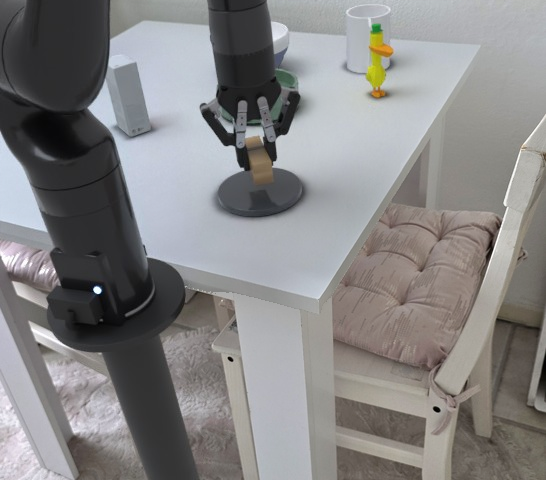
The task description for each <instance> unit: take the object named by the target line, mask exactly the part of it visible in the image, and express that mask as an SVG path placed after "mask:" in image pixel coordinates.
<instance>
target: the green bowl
mask: <svg viewBox="0 0 546 480" xmlns="http://www.w3.org/2000/svg"><path fill="white" fill-rule="evenodd" d="M276 77H277V80H278V82H279V83H280V85H281V86H283V87H287V88H289V87H291V86H293V87H295V88H296V89H297V91H298V92H299V91H300V90H299V79H298V76H297V75H296V74H295V73H294V72H291V71H289V70H286V69H282V68H278V69H277V68H276ZM217 90H218V84H216V89H215V92H217ZM299 93H300V92H299ZM282 104H283V103H282V101H281V95H280V96H279V97H278V99H277V101H276V103H275V105H274V106H273V108H272V110H271V112H270V115H271V119H272V122H273V121H277V118H278V116H279V113H280V110H281V107H282ZM300 104H301V103H300V101H299V104H298V107H299V106H300ZM219 113H220V116H222V117H223V118H224V119H227V120H228V121H230V122H233V117H232V116H231V115H230V114H229V113H228V112H226V111H225V110H224V109H223V108H222V107H221V106H220V107H219ZM246 124H261V121H260V120H251V121H249V122H246Z"/></svg>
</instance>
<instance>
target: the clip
mask: <svg viewBox="0 0 546 480" xmlns="http://www.w3.org/2000/svg"><path fill="white" fill-rule="evenodd" d="M245 144H246V147H247V152H248V159H249V167H250V171H248V172H250V174H251V177H252V179H253V182H254V184H255V186H258V185H263V184H268V183H273V182H274V179H273V170H272V167H273V166H272V162H271V160H270V157H269V155H268V153H267V151H266V149H265V146H264V144H263V140H262V138H261V136H260V135H255V136H250V137H249V136H248V137H245Z"/></svg>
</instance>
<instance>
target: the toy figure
mask: <svg viewBox="0 0 546 480" xmlns="http://www.w3.org/2000/svg"><path fill="white" fill-rule="evenodd" d="M371 26H372V31H370V46H369V48H370V50H371V59H372V65H371V67H369V66H368V73H365V79H366V81H367V82H368V83H369V84H370V85H371V87H372V90H373V91H372V92H371V95H372V97H374V98H377V99H378V98H381V97H385V96H386V92H385V90H383V89H381V86H382V85H383V83H384V82H385V80H386V77H387V73H386V69H384V68H383V67H382V65H381V59H382V56H384V57H390V58H391V56H392V55H394V48H393V47H392V46H391V45H390V46H388V45H386V44H384V43H383V33H382V31H383V30H382V29H381V24H373V25H371Z"/></svg>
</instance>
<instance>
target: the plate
mask: <svg viewBox="0 0 546 480" xmlns="http://www.w3.org/2000/svg"><path fill="white" fill-rule="evenodd" d="M272 170H273V179H274V182H273V183H268V184H263V185H258V186H255V184H254V182H253V179H252V177H251V174H250V172H248V171H244V170H241V171H238V172H236V173H234V174H232V175H230V176H228V177H227V178H226V179H224V181H222V182H221V184H220V185H219V187H218V189H217V197H218V202H219V204H220V206H221V207H222V208H223V209H224V210H226V211H227V212H228V213H231V214H234V215H237V216H242V217H252V218H253V217H266V216H271V215H275V214H279V213H281V212H283V211H286V210H287V209H289V208H291V207H292V206H293V205H295V204H296V203H297V202H298V201H299V199H300V198H301V196H302V193H303V192H302V191H303V190H302V189H303V188H302V182H301V179H300V178H299V177H298V176H297V175H296V174H295V173H293V172H292V171H290V170H287V169H285V168H279V167H274V166H272Z"/></svg>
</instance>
